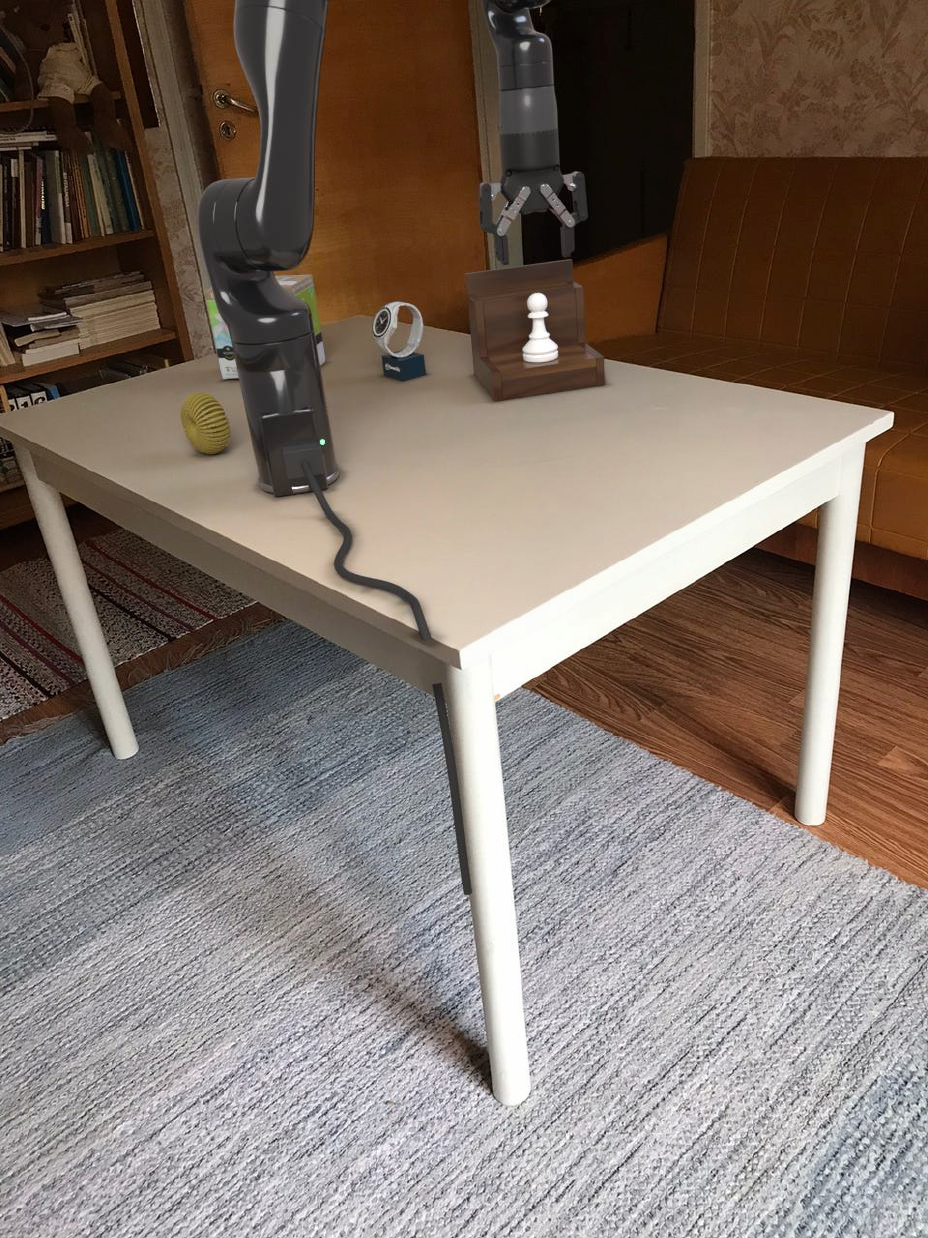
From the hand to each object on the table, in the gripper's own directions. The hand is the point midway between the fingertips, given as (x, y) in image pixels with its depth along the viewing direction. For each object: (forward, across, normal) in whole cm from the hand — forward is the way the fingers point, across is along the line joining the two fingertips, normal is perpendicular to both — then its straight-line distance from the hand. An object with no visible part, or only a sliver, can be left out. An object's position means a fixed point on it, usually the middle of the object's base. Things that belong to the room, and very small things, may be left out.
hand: (536, 260), depth 136 cm
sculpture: (+18, -47, -8) cm, 51 cm away
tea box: (+18, -38, +31) cm, 52 cm away
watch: (+18, -18, +17) cm, 30 cm away
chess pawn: (+14, 0, 0) cm, 14 cm away
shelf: (+17, 0, +4) cm, 18 cm away
